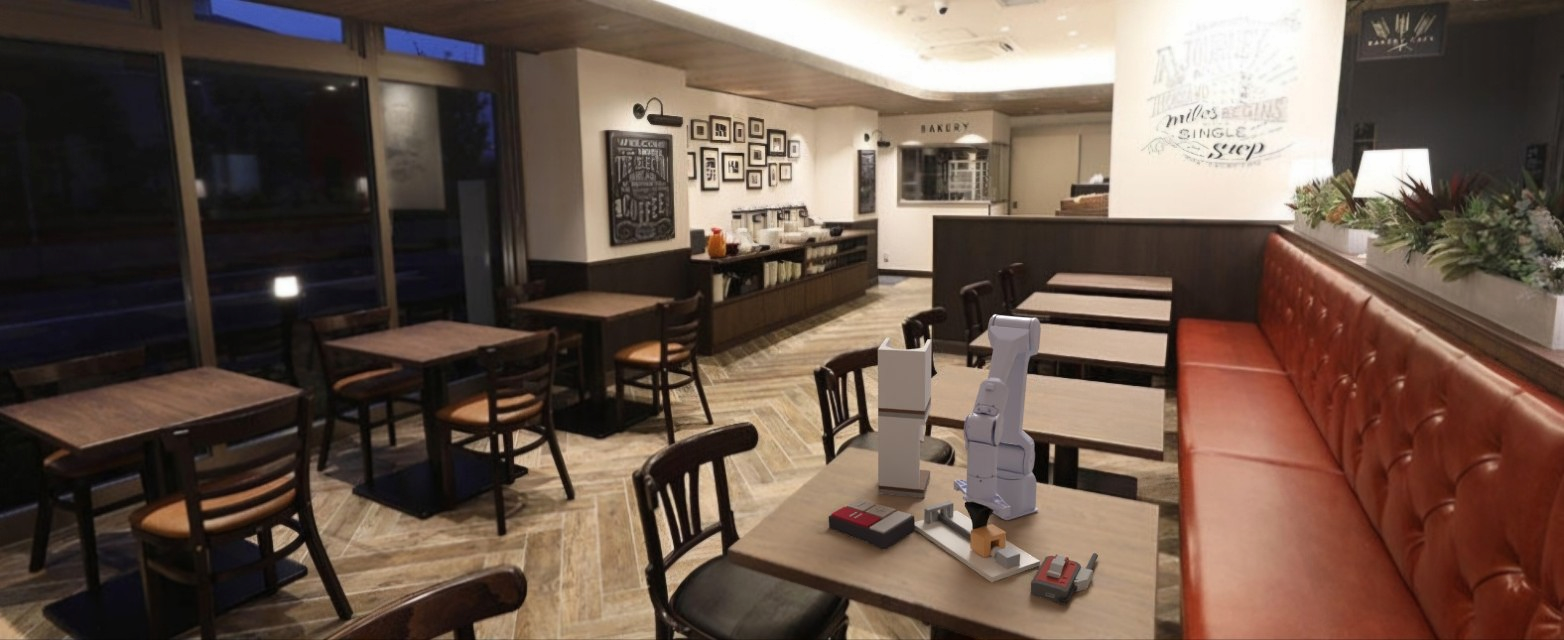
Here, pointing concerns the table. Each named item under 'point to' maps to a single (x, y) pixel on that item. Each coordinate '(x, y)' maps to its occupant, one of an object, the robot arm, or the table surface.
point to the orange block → (987, 539)
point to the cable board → (956, 537)
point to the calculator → (872, 523)
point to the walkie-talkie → (1061, 578)
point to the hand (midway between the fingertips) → (979, 535)
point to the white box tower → (902, 418)
